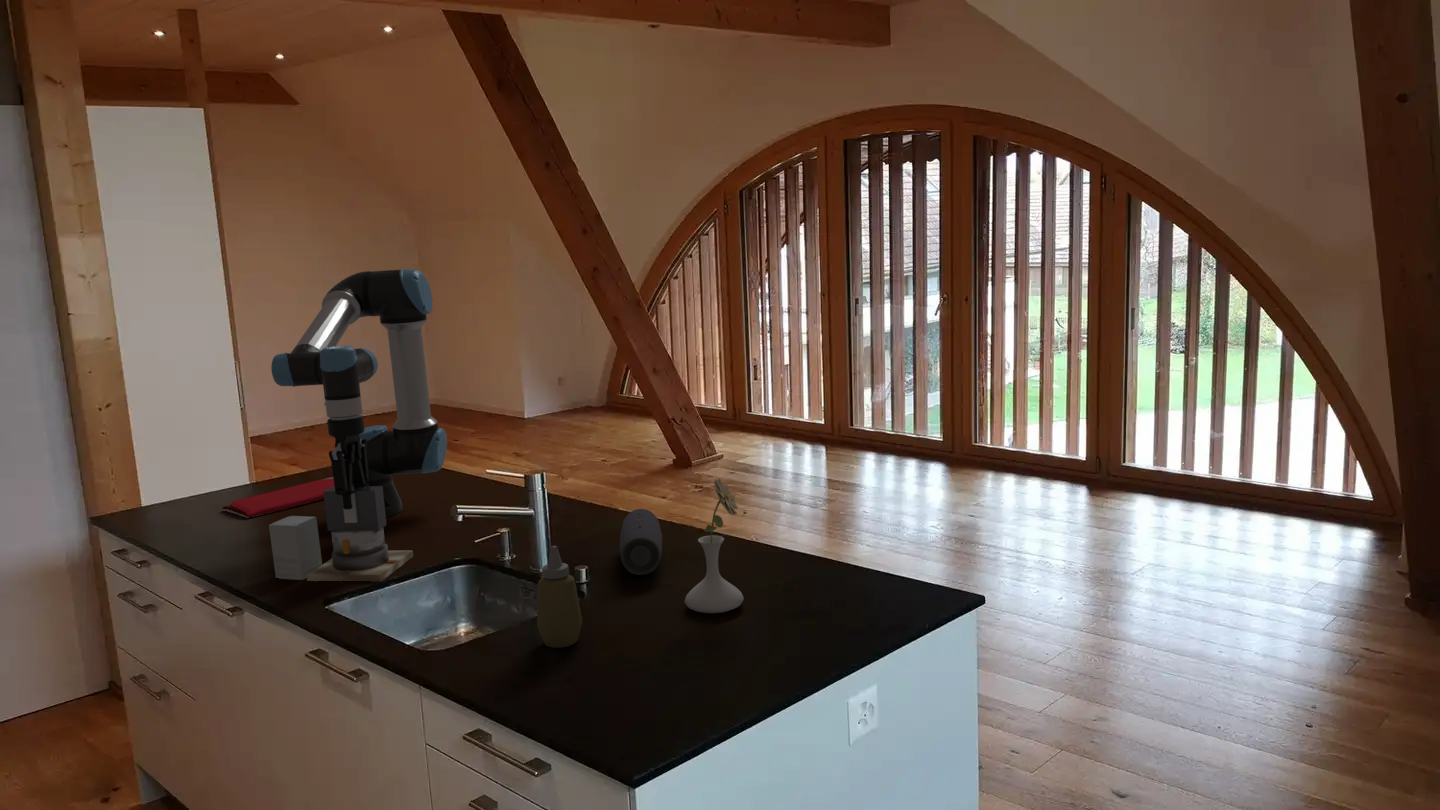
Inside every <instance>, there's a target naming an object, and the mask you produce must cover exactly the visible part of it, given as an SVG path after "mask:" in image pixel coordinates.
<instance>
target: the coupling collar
mask: <svg viewBox="0 0 1440 810" xmlns="http://www.w3.org/2000/svg"><path fill="white" fill-rule="evenodd" d="M352 493H355V500H356V508H357V517H358V522H357V523H345V519H344V510H343V502H342V495H337V494H336V493H335V487H331V488H329V489H327V490H325V491H323V494H324V500H323V501H324V509H325V519H326V525H327V526H326V527H327V531H328V532H329V531H330V532H331V540H332V549H333V551H334V554H335V555H337V556H341V557H357V556H364V555H369V554H372V553H376V552H378V551H380V550H382V549H384V548H385V544H386V541H385V540H386V539H385V533H384V528H385V527H386V526H387V517H386V514H385V505H384V496H383V486H362V487H352Z"/></svg>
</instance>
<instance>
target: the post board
mask: <svg viewBox="0 0 1440 810" xmlns="http://www.w3.org/2000/svg"><path fill="white" fill-rule="evenodd" d="M412 558H414V551H413V550H409V549H407V550H396V549H395V550H389V548H388V544H387V543H385V548H384V549H382V550H380V551H378V552H376V553H372V554H369V555H364V556H357V557H341V556H337V555H335V554H334V550H332V552H331V558H330V559H329V560H328V561H326V562H325V563H322V565H321V566H320V567H318V568H317V569H315V570H314V571H312V572H311V573H309V574H308V575H307V578H306V580H307V582H308V581H315V582H316V581H340V583H341V581H371V583H372V582H373V583H374V582H375V583H376V582H378V583H379V582H383V581H384V580H385V579H386V578H387V577H389V576H390V575H391V574H393V573H394V572H395V571H397V569H399V568H401V567H402V566H403V565H405V562H406V563H407V562H408V561H410V560H411V559H412ZM315 582H314V583H315Z"/></svg>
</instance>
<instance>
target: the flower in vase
mask: <svg viewBox="0 0 1440 810" xmlns="http://www.w3.org/2000/svg"><path fill="white" fill-rule="evenodd" d="M713 484H714V488H715V493H716V494H717V496H718V502H717V503H716V506H715V509H714V511H713V515H712V519H711V524H707V526H706V527H705V528H704V529H703V532H708V533H709V532H710V535H705V536H704V535H703V536H701V537H699V538H698V539H697V542H698V543H699V544H700V545H701V547H702V549H703V553H704V555H705V561H706V562H705V563H706V574H705V577H704V578H703V579H702V580H701V581H700V582H699V583H697V584H696V585H694V587H693V588H692V589H691V590H690V591H689V592H688V593H687V594H686V596H685V599H684V604H685V605H686V606H687V607H688V609H690V610H692V611H694V612H697V613H704V614H720V613H725V612H729V611H731V610H735V609H736V608H738V607H740V606H741V605H742V603H743V601H744V599H745V598H744V595H743V594H742V592H741V591H740V589H738V588H737V586H735V585H734V584H732V583H730V582H728V581H727V580H726V579H725V578H723V577H722V576H721V574H720V571H719V553H720V548H721V546H722V544H723V542H724V541H725V538H724V537H723V536H720V535H716V534H715V535H714V534H713V533H714V531H715V530H716V529H718V528H719V529H721V528H722V527H723V526H724V521H723V518H722V516H720V515H718V514H716V513H717V510H718V508H719V505H720V504H721V505H722V506H723V508H724V510H726V512H727V513H728V514H729V515H730V514H731V515H732V516H733V515H734V516H736V515H738V512H737V511H736V510H739V507H738V505H737V503H736V502H735V500H736V498H735V495H734V494H732V493H731V490H729V486H728V484H723V481H722V479H721V478H720V477H718V479H717V478H715V479H714V482H713ZM714 525H715V526H714Z"/></svg>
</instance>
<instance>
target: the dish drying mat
mask: <svg viewBox="0 0 1440 810" xmlns="http://www.w3.org/2000/svg"><path fill="white" fill-rule="evenodd" d="M331 487H335V486H334V479H333V476H331V477H326V478H321V479H317V480H313V481H308V482H305V483H301V484H296V485H293V486H290V487H285V488H281V489H277V490H276V489H275V490H272V491H268V492H264V493H259V494H257V495H256V494H255V495H251V496H248V497H243V498H239V499H236V500H234V501H232V502H231V503H230V504H228V505H224V506H223V507H222V510H223V509H229V510H232V511H234V512H237V513H239V514H243V515H245V516H247V517H252V516H256V515H260V514H265V513H268V512H273V511H277V510H281V509H285V508H289V507H293V506H297V505H301V504H305V503H308V502H313V501H317V500H321V501H323V500H322V499H324V494H323V491H325V490H327V489H329V488H331ZM317 502H318V501H317Z"/></svg>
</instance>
